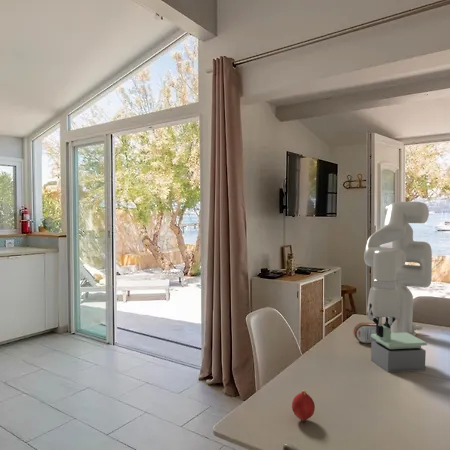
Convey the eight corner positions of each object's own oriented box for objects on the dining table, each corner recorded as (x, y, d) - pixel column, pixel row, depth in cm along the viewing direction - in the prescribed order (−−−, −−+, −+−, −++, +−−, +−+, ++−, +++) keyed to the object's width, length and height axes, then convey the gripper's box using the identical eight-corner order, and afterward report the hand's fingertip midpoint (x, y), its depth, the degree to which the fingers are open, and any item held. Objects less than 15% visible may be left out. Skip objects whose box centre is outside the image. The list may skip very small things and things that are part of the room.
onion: (289, 415, 104) (289, 385, 104) (310, 414, 104) (311, 385, 104) (295, 427, 98) (295, 395, 98) (317, 426, 98) (318, 395, 98)
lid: (406, 338, 147) (407, 320, 146) (426, 348, 135) (427, 329, 135) (371, 339, 144) (371, 322, 144) (388, 350, 133) (388, 331, 133)
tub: (405, 358, 146) (406, 340, 146) (425, 370, 136) (425, 350, 135) (371, 360, 144) (371, 341, 144) (387, 372, 133) (388, 352, 133)
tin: (389, 342, 165) (390, 323, 165) (392, 345, 162) (392, 325, 162) (353, 341, 166) (353, 321, 166) (354, 343, 163) (355, 323, 163)
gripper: (398, 282, 143) (397, 331, 144) (358, 283, 141) (357, 333, 141) (411, 286, 136) (410, 338, 136) (368, 287, 133) (367, 340, 134)
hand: (383, 335), depth 139 cm, fingers closed on lid
